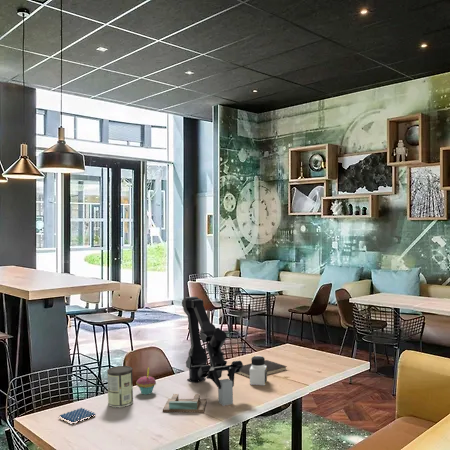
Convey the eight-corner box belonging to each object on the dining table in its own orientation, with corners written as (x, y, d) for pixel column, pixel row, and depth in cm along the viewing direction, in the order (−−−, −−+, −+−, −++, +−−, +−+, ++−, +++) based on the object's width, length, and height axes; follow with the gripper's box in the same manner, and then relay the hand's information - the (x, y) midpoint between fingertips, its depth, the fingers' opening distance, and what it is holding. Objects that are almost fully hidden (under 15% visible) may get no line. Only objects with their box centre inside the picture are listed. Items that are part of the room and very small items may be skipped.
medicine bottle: (265, 385, 219) (264, 359, 219) (249, 384, 220) (249, 358, 220) (267, 380, 226) (266, 355, 226) (251, 380, 227) (251, 354, 227)
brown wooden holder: (168, 401, 201) (168, 392, 201) (206, 401, 200) (206, 392, 200) (162, 412, 189) (162, 403, 189) (203, 412, 188) (203, 403, 188)
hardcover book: (286, 370, 242) (286, 366, 242) (251, 379, 229) (251, 375, 229) (265, 364, 255) (265, 359, 255) (231, 372, 242) (231, 367, 242)
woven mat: (57, 420, 184) (57, 414, 184) (81, 411, 192) (81, 406, 192) (72, 427, 177) (72, 421, 177) (96, 418, 185) (96, 412, 186)
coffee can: (116, 397, 206) (115, 364, 206) (137, 400, 203) (137, 366, 203) (102, 406, 197) (102, 371, 197) (124, 409, 193) (124, 373, 193)
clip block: (218, 402, 199) (218, 380, 199) (228, 400, 201) (227, 378, 201) (222, 405, 195) (222, 383, 195) (232, 403, 197) (232, 381, 197)
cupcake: (160, 392, 212) (159, 365, 212) (144, 397, 206) (144, 369, 206) (148, 388, 218) (147, 361, 218) (132, 393, 212) (132, 365, 212)
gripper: (230, 361, 216) (241, 394, 205) (190, 367, 208) (200, 400, 198) (237, 347, 209) (249, 380, 198) (197, 352, 201) (207, 387, 191)
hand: (226, 387), depth 197 cm, fingers open, 5 cm apart
